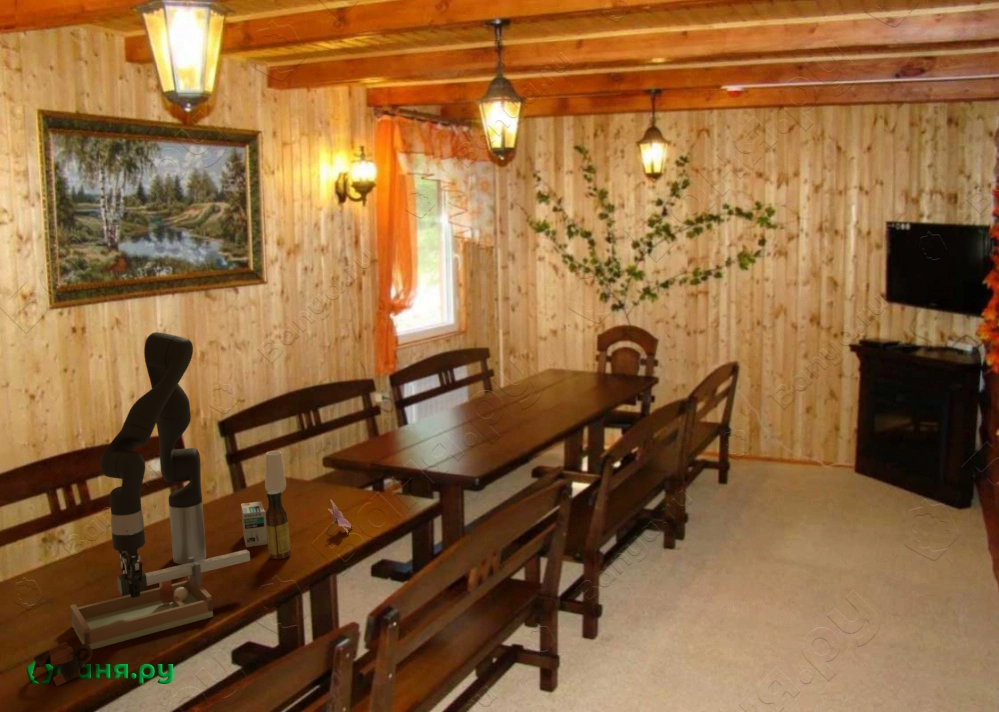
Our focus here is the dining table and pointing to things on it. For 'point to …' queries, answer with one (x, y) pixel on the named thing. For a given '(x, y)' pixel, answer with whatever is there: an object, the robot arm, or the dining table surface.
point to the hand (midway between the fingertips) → (133, 593)
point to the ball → (181, 593)
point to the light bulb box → (254, 524)
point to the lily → (339, 518)
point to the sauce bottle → (277, 527)
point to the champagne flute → (274, 472)
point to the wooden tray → (141, 613)
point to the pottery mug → (64, 661)
